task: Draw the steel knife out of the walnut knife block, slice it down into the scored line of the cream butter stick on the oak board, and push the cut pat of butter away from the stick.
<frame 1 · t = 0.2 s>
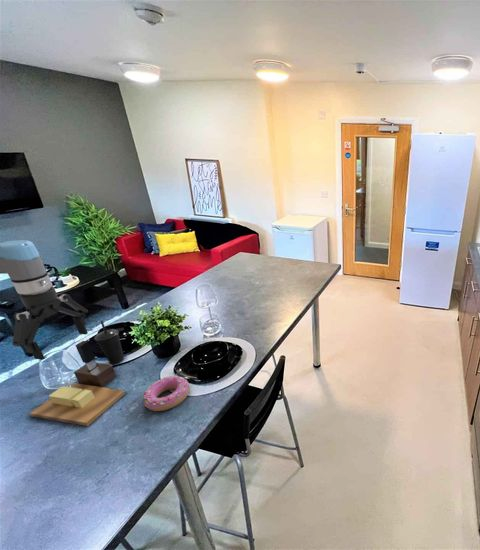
hand: (63, 345, 98), 23 cm above the table, tool pointing down, fingers open, 13 cm apart
butter stick: (69, 399, 103), point 1 cm above the table, touching board
knife block: (98, 380, 114), on the table
donut: (168, 398, 108), on the table
knife: (90, 362, 110), in the knife block
board: (80, 404, 104), on the table
drinking cup: (117, 360, 124), on the table
butter pat: (85, 402, 103), point 1 cm above the table, touching board
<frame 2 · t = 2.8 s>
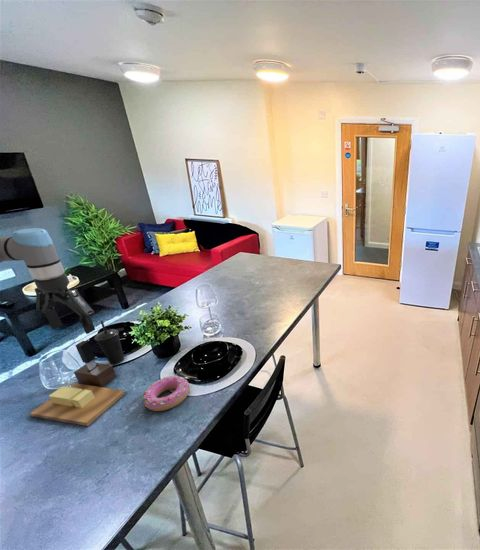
hand: (74, 329, 103), 25 cm above the table, tool pointing down, fingers open, 13 cm apart
nothing on the table moved.
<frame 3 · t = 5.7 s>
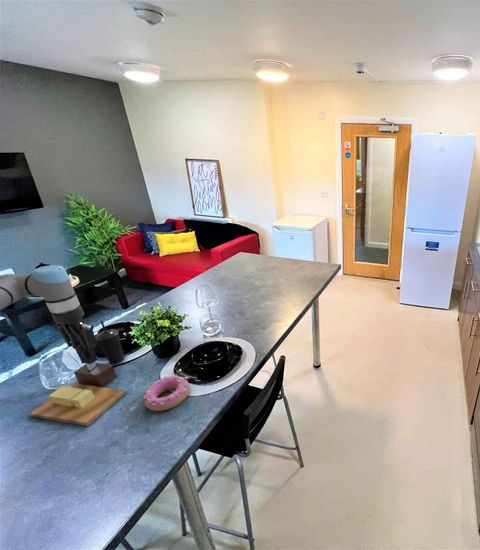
hand: (89, 361, 110), 9 cm above the table, tool pointing down, fingers closed on knife, 2 cm apart
knife: (90, 362, 110), in the knife block, touching gripper
everything else where it was.
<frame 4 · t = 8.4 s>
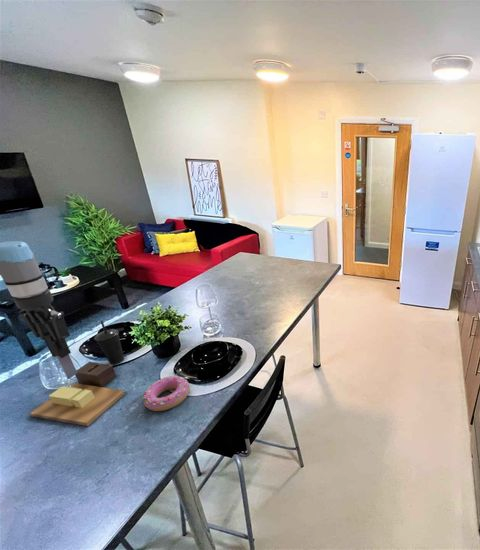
hand: (61, 354, 96), 21 cm above the table, tool pointing down, fingers closed on knife, 2 cm apart
knife: (62, 355, 97), point 21 cm above the table, touching gripper
everything else where it was.
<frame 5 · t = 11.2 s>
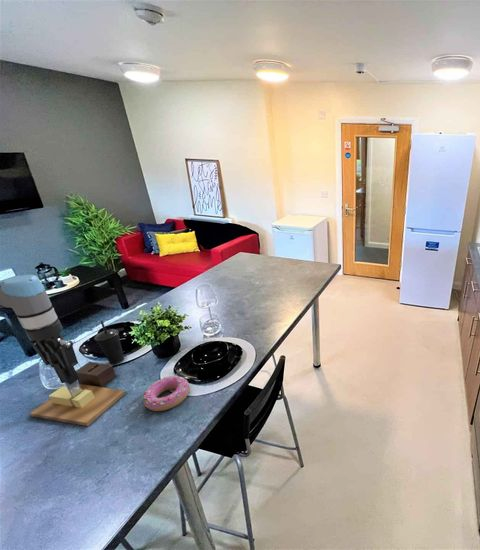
hand: (70, 380, 99), 11 cm above the table, tool pointing down, fingers closed on knife, 2 cm apart
knife: (71, 381, 99), point 11 cm above the table, touching gripper
everything else where it was.
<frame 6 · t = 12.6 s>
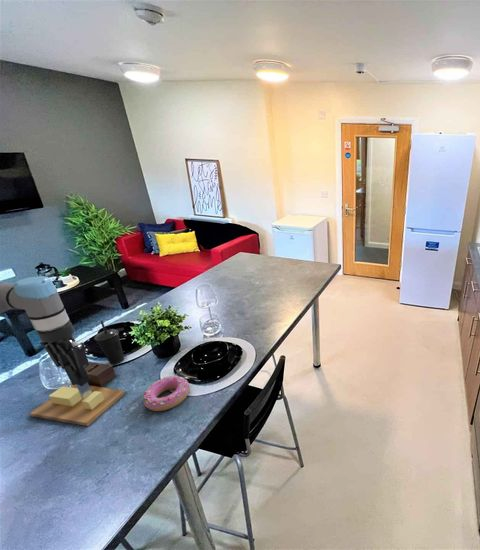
hand: (81, 382, 98), 11 cm above the table, tool pointing down, fingers closed on knife, 2 cm apart
knife: (81, 383, 99), point 11 cm above the table, touching butter pat, gripper
butter pat: (95, 403, 102), point 2 cm above the table, touching board, knife
everything else where it was.
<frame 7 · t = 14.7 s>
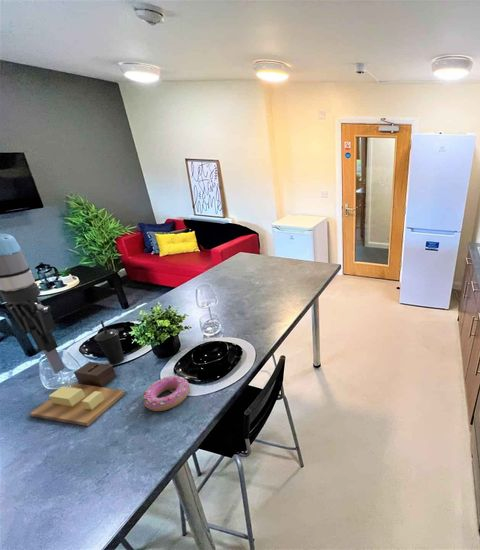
hand: (48, 348, 96), 23 cm above the table, tool pointing down, fingers closed on knife, 2 cm apart
knife: (49, 350, 96), point 22 cm above the table, touching gripper
butter pat: (95, 403, 102), point 1 cm above the table, touching board
everything else where it was.
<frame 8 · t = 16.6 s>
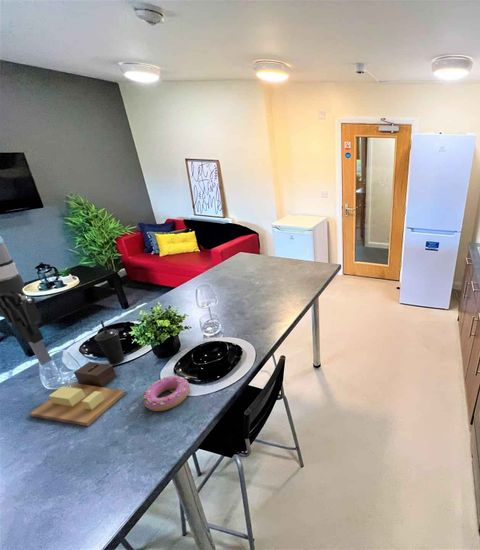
hand: (34, 340, 97), 24 cm above the table, tool pointing down, fingers closed on knife, 2 cm apart
knife: (35, 341, 98), point 24 cm above the table, touching gripper
everything else where it was.
at the end: butter pat moved 3.9 cm from its start; butter stick moved 0.0 cm from its start; the gripper is holding knife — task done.
